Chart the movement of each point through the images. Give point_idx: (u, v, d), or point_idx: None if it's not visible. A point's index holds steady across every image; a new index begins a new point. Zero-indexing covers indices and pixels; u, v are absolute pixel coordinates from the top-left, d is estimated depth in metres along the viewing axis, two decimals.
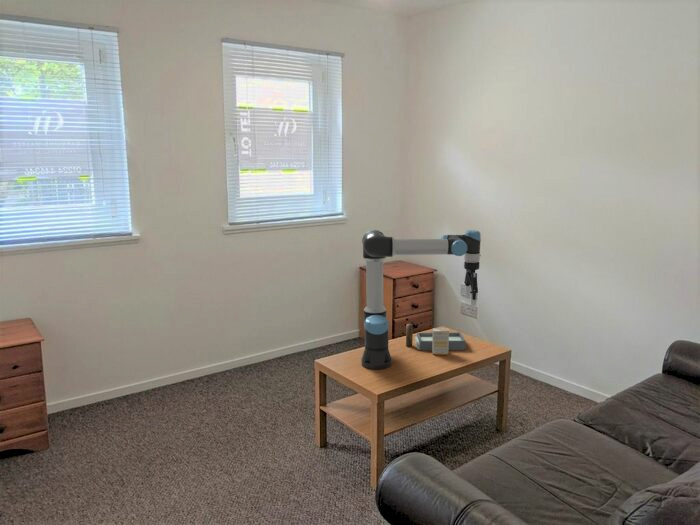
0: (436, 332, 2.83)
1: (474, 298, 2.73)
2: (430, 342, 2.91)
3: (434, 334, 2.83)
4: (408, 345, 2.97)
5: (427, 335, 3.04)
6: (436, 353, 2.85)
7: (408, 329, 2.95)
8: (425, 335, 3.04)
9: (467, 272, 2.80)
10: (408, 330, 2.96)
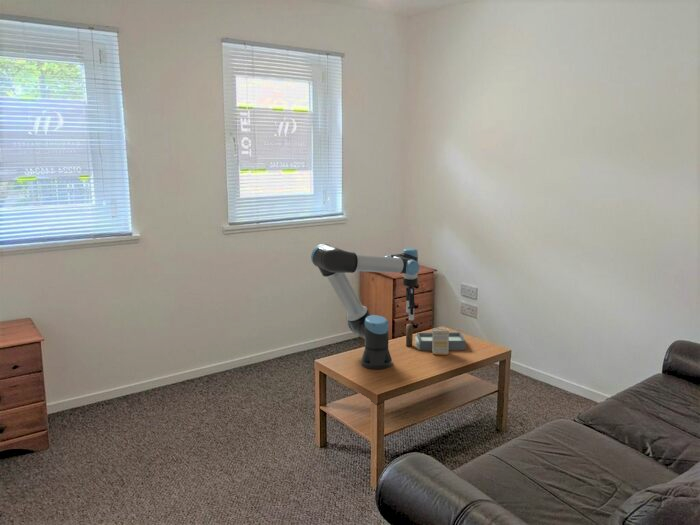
0: (436, 332, 2.83)
1: (412, 313, 2.87)
2: (430, 342, 2.91)
3: (434, 334, 2.83)
4: (408, 345, 2.97)
5: (427, 335, 3.04)
6: (436, 353, 2.85)
7: (408, 329, 2.95)
8: (425, 335, 3.04)
9: (406, 288, 2.93)
10: (408, 330, 2.96)
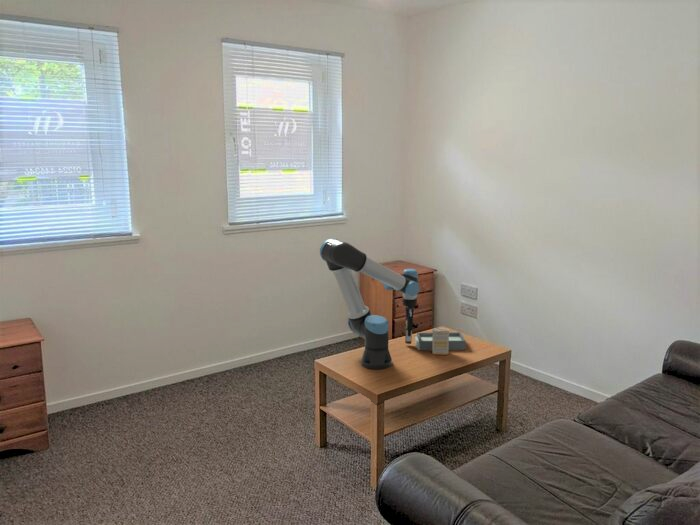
0: (436, 332, 2.83)
1: (409, 334, 2.94)
2: (430, 342, 2.91)
3: (434, 334, 2.83)
4: (407, 342, 2.97)
5: (427, 335, 3.04)
6: (436, 353, 2.85)
7: None
8: (425, 335, 3.04)
9: None
10: None
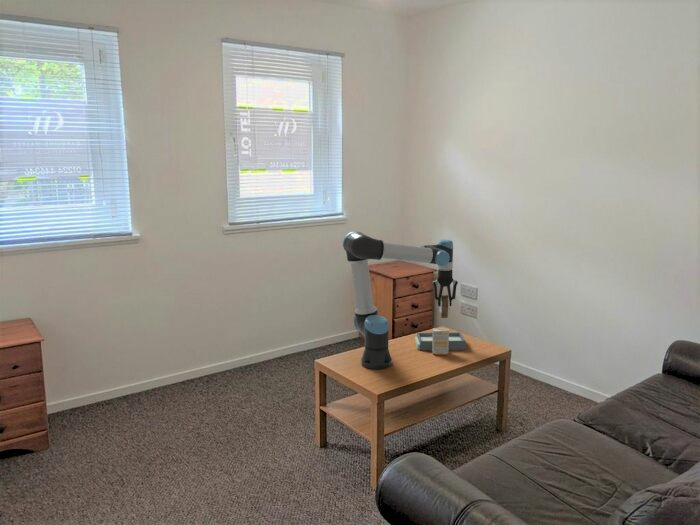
0: (436, 332, 2.83)
1: (438, 304, 2.94)
2: (430, 342, 2.91)
3: (434, 334, 2.83)
4: (441, 315, 2.96)
5: (427, 335, 3.04)
6: (436, 353, 2.85)
7: None
8: (425, 335, 3.04)
9: None
10: None
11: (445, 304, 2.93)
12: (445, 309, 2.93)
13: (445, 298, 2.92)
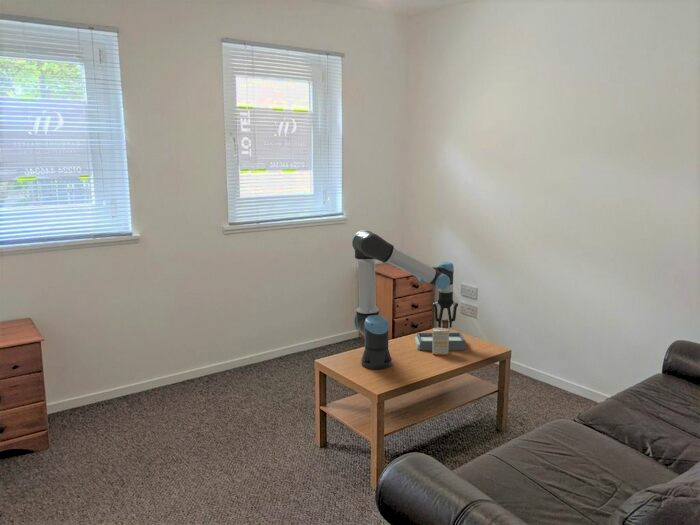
0: (436, 332, 2.83)
1: (438, 326, 2.97)
2: (430, 342, 2.91)
3: (434, 334, 2.83)
4: None
5: (427, 335, 3.04)
6: (436, 353, 2.85)
7: None
8: (425, 335, 3.04)
9: None
10: None
11: None
12: None
13: (445, 322, 2.95)
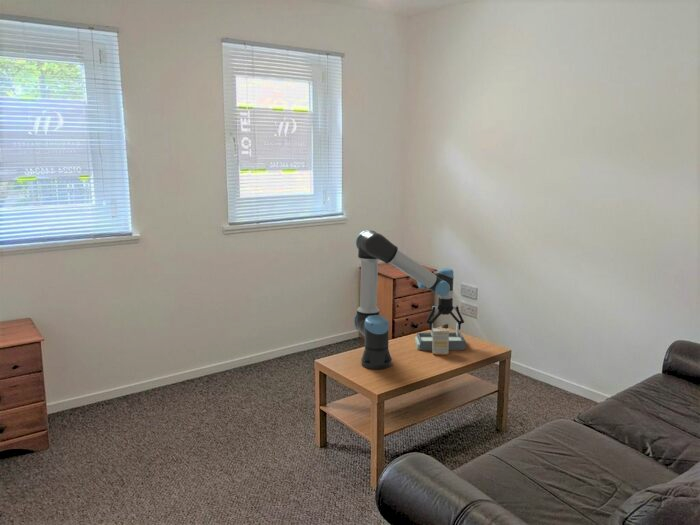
0: (436, 332, 2.83)
1: (429, 328, 2.97)
2: (430, 342, 2.91)
3: (434, 334, 2.83)
4: None
5: (427, 335, 3.04)
6: (436, 353, 2.85)
7: None
8: (425, 335, 3.04)
9: None
10: None
11: None
12: None
13: (445, 327, 2.95)
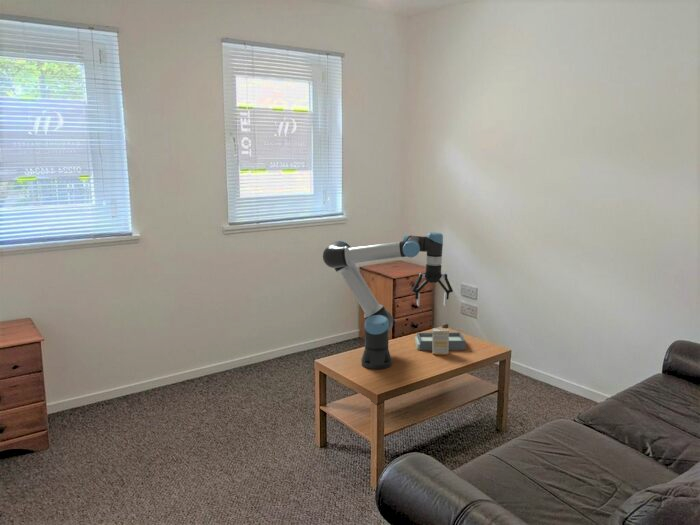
0: (436, 332, 2.83)
1: (415, 297, 2.75)
2: (430, 342, 2.91)
3: (434, 334, 2.83)
4: None
5: (427, 335, 3.04)
6: (436, 353, 2.85)
7: None
8: (425, 335, 3.04)
9: None
10: None
11: None
12: None
13: (445, 327, 2.95)
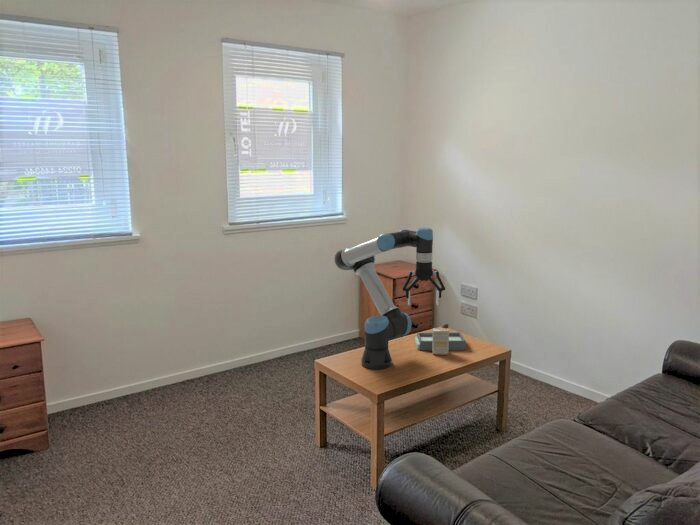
0: (436, 332, 2.83)
1: (406, 296, 2.62)
2: (430, 342, 2.91)
3: (434, 334, 2.83)
4: None
5: (427, 335, 3.04)
6: (436, 353, 2.85)
7: None
8: (425, 335, 3.04)
9: None
10: None
11: None
12: None
13: (445, 327, 2.95)
